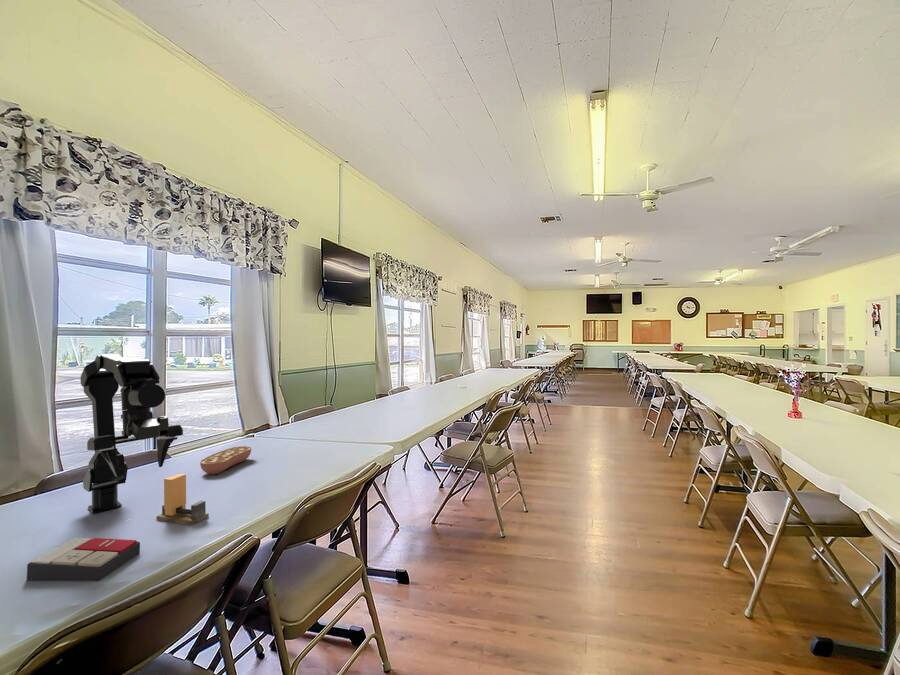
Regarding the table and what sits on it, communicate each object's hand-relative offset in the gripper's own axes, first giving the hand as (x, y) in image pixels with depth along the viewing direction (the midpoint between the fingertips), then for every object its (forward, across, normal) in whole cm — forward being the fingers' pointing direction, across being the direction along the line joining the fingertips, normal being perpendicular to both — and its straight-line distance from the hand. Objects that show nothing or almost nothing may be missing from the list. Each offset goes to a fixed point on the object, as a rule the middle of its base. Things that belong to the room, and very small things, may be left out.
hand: (139, 471), depth 106 cm
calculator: (+17, -13, -7) cm, 22 cm away
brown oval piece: (+11, +39, +36) cm, 54 cm away
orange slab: (+13, +9, +3) cm, 16 cm away
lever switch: (+15, +9, +2) cm, 18 cm away
